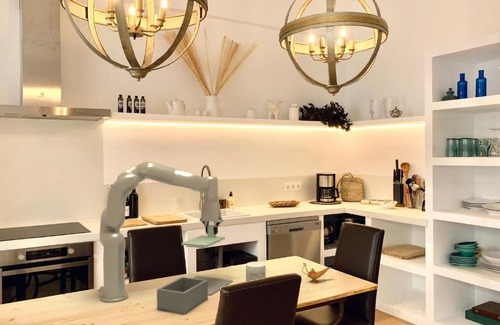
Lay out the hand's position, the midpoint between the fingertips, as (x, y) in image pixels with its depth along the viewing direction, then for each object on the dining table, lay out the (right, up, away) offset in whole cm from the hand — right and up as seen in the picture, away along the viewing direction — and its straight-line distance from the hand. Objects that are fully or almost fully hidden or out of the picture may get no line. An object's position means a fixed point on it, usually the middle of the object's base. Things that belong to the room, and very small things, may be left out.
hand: (211, 233), depth 223 cm
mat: (-3, -26, -7) cm, 27 cm away
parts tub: (-10, -26, -34) cm, 44 cm away
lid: (-3, -3, -8) cm, 9 cm away
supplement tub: (+23, -26, -21) cm, 41 cm away
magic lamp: (+56, -25, -1) cm, 61 cm away
